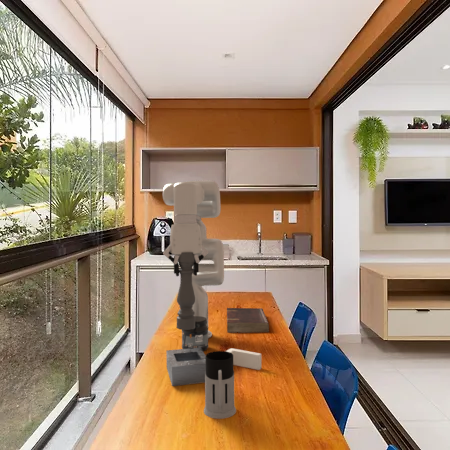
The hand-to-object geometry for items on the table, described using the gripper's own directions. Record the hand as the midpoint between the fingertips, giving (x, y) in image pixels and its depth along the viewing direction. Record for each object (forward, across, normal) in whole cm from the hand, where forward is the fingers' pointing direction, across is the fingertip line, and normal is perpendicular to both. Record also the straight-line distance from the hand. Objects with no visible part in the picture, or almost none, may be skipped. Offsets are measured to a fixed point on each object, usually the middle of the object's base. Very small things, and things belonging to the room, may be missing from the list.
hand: (186, 274), depth 136 cm
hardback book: (+34, -37, -55) cm, 75 cm away
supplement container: (+34, -7, -25) cm, 42 cm away
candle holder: (+18, 0, 0) cm, 18 cm away
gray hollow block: (+33, 0, 0) cm, 33 cm away
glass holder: (+33, -4, +30) cm, 45 cm away
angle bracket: (+33, -17, -2) cm, 37 cm away
